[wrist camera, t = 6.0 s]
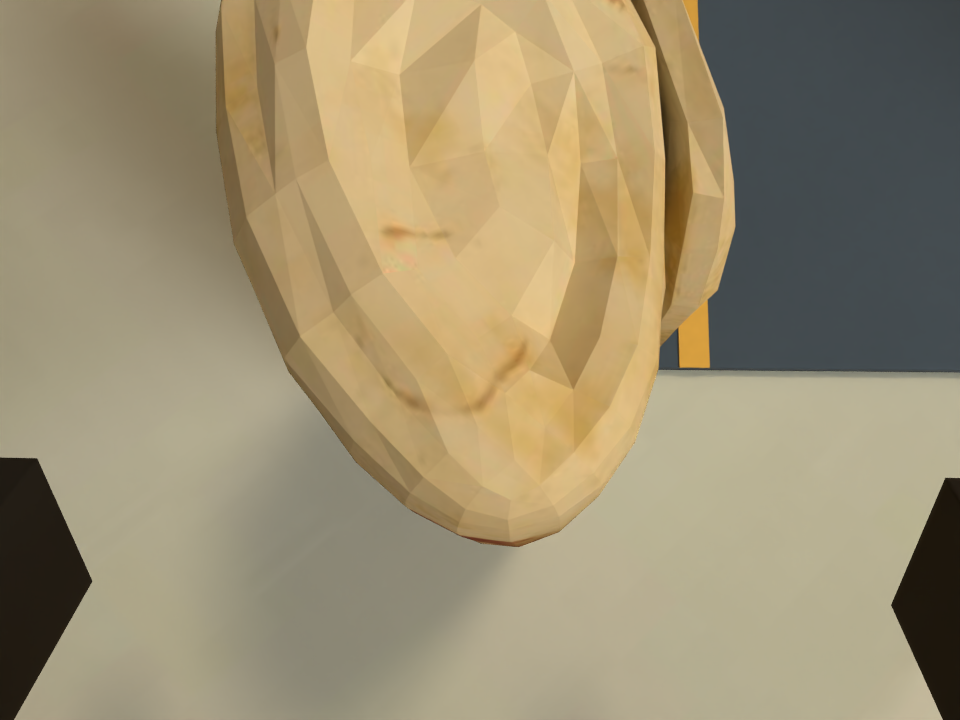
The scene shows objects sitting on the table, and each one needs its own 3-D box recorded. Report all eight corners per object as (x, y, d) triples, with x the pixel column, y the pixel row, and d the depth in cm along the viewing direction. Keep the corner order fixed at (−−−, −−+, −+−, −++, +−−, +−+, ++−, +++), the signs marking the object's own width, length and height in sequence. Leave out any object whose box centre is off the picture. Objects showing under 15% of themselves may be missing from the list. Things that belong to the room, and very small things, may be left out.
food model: (375, 275, 28) (44, -242, 9) (556, 227, 28) (640, -401, 9) (441, 548, 26) (213, 680, 7) (635, 497, 26) (965, 484, 7)
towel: (646, 369, 27) (649, 367, 27) (639, 0, 30) (641, -10, 29) (1196, 375, 26) (1211, 371, 26) (1141, -8, 29) (1154, -18, 28)
